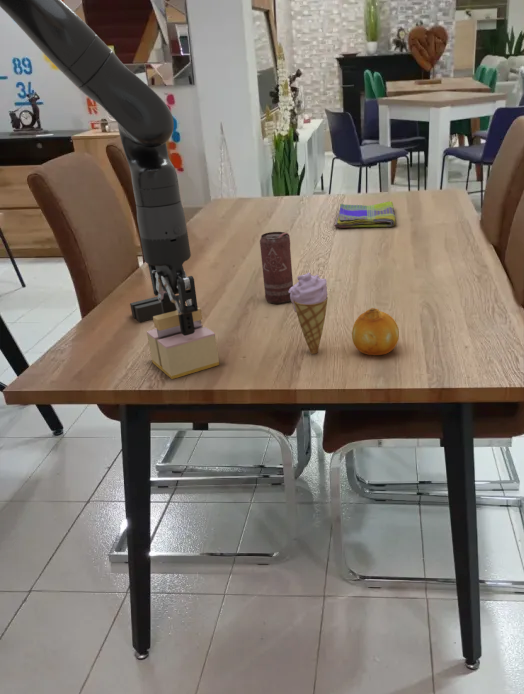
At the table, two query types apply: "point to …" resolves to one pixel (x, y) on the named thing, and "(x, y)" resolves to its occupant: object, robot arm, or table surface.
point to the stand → (146, 309)
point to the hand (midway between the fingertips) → (179, 327)
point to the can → (276, 266)
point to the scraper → (173, 323)
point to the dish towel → (366, 215)
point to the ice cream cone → (310, 307)
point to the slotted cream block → (184, 352)
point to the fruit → (375, 332)
